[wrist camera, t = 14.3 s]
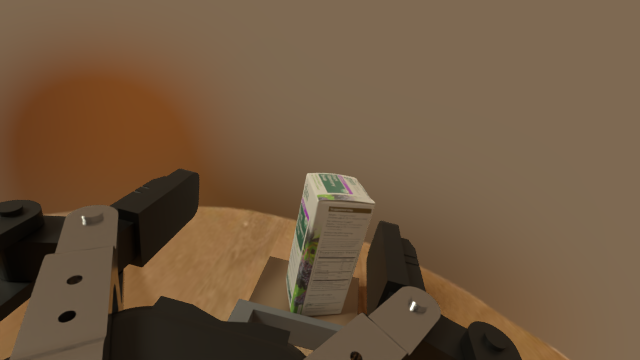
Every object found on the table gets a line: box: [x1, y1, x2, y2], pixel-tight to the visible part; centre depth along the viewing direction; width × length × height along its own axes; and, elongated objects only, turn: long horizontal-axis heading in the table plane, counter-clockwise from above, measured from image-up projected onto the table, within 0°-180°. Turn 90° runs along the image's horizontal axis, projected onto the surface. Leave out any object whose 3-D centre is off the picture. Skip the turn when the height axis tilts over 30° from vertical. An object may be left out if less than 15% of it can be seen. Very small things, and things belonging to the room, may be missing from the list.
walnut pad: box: [249, 256, 359, 326], centre depth 35 cm, size 12×9×2 cm
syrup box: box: [286, 173, 375, 316], centre depth 31 cm, size 6×6×14 cm
